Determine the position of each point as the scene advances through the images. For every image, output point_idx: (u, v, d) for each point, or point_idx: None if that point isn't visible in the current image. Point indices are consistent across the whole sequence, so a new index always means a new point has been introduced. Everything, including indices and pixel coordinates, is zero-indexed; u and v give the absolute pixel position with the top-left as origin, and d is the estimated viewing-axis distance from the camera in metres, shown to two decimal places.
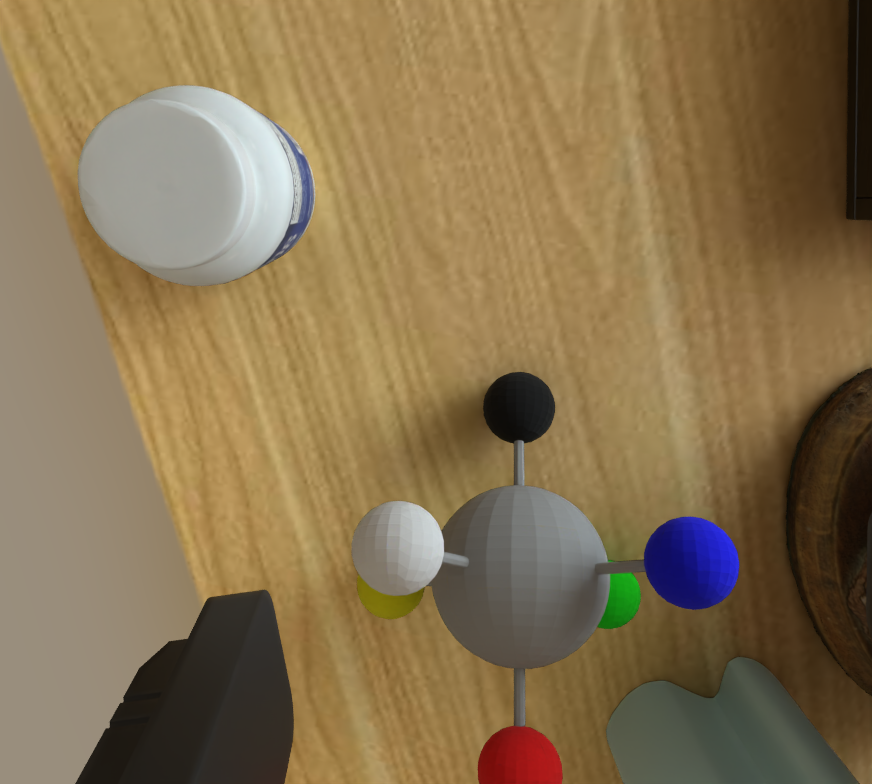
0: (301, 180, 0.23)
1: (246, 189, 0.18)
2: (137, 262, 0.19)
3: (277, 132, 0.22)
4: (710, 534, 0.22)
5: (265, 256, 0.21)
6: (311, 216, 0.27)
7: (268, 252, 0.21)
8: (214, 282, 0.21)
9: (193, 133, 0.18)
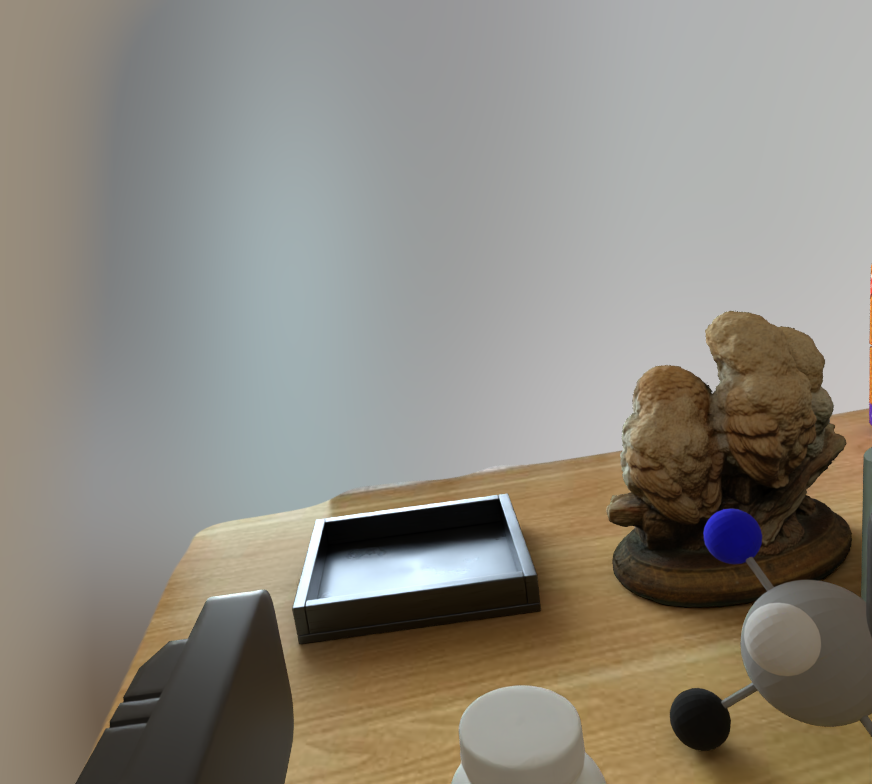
0: None
1: None
2: (576, 736, 0.24)
3: None
4: (706, 525, 0.38)
5: None
6: None
7: None
8: None
9: (482, 707, 0.26)
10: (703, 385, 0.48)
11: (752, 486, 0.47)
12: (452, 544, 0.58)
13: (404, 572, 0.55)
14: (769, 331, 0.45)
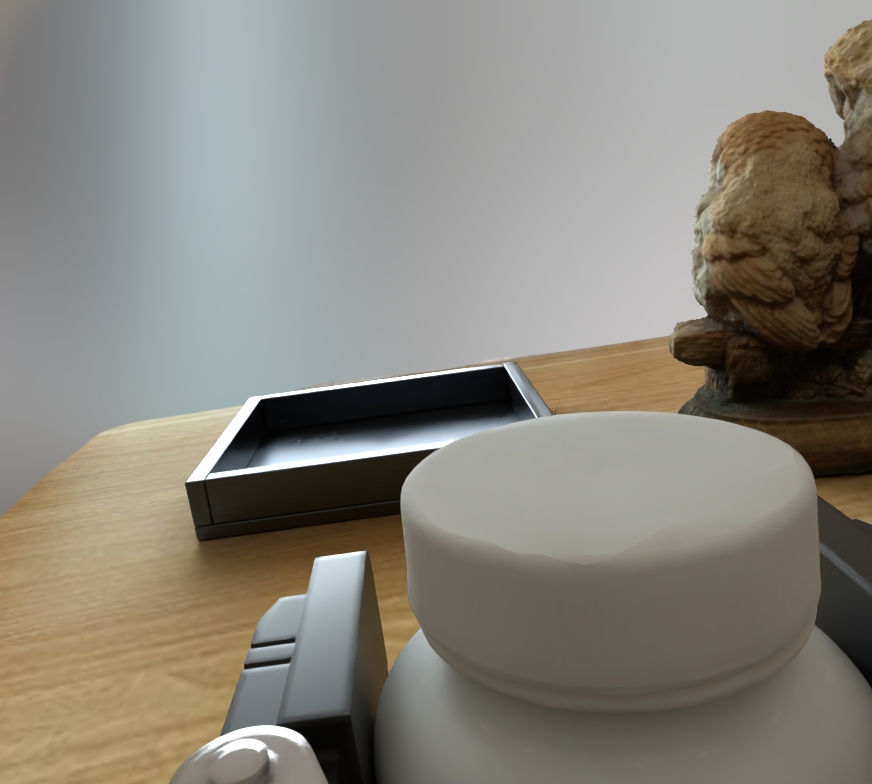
0: None
1: None
2: (808, 479, 0.07)
3: None
4: None
5: None
6: None
7: None
8: None
9: (476, 448, 0.09)
10: (824, 134, 0.31)
11: None
12: (438, 423, 0.41)
13: None
14: None
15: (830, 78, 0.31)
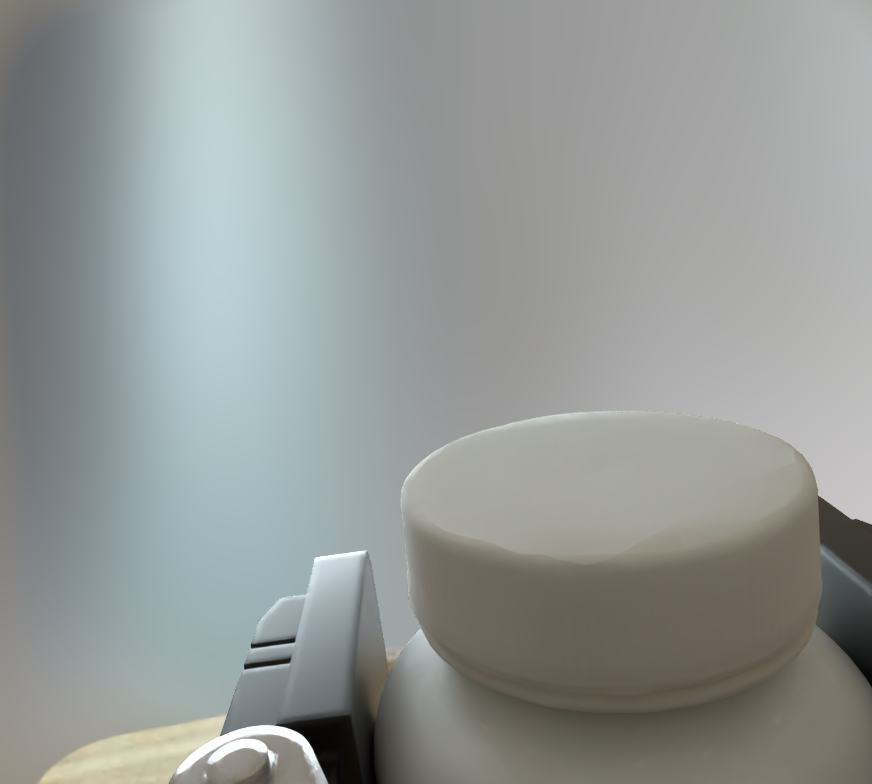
0: None
1: None
2: (809, 478, 0.07)
3: None
4: None
5: None
6: None
7: None
8: None
9: (476, 448, 0.09)
10: None
11: None
12: None
13: None
14: None
15: None
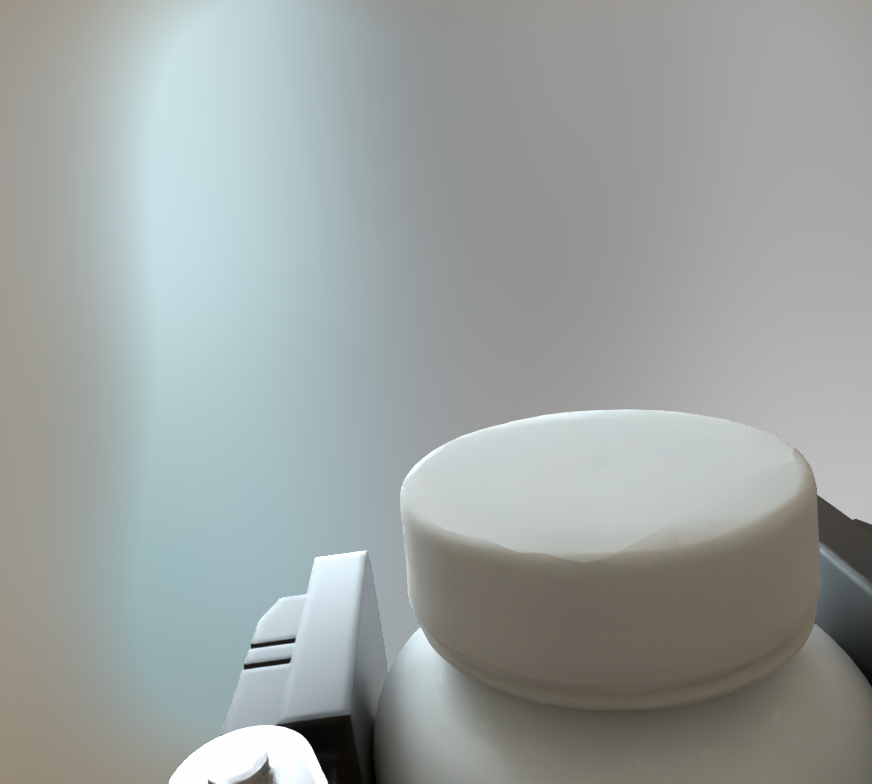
0: None
1: None
2: (808, 477, 0.07)
3: None
4: None
5: None
6: None
7: None
8: None
9: (476, 447, 0.09)
10: None
11: None
12: None
13: None
14: None
15: None
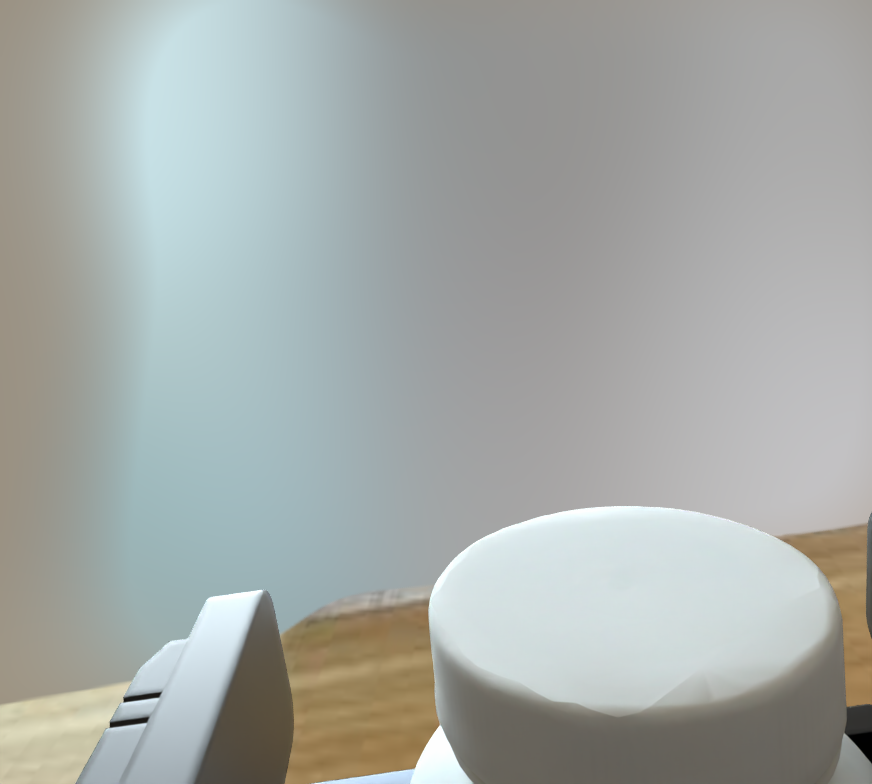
0: None
1: None
2: (834, 611, 0.07)
3: None
4: None
5: None
6: None
7: None
8: (860, 751, 0.09)
9: (500, 553, 0.09)
10: None
11: None
12: None
13: None
14: None
15: None
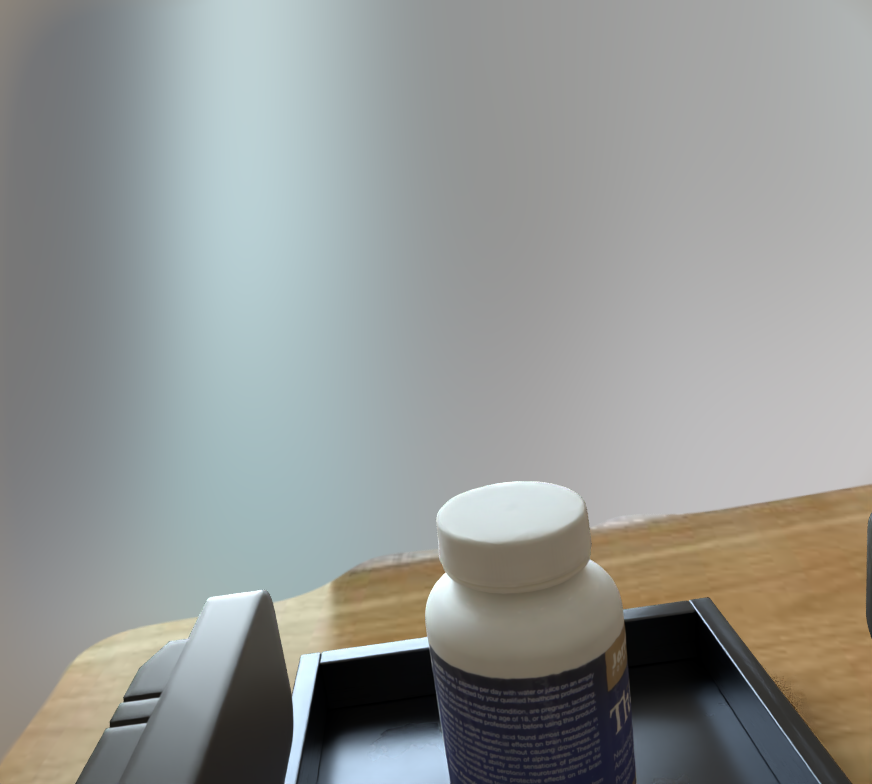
0: None
1: None
2: (580, 514, 0.19)
3: None
4: None
5: None
6: None
7: None
8: (612, 580, 0.21)
9: (465, 499, 0.21)
10: None
11: None
12: None
13: None
14: None
15: None
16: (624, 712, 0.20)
